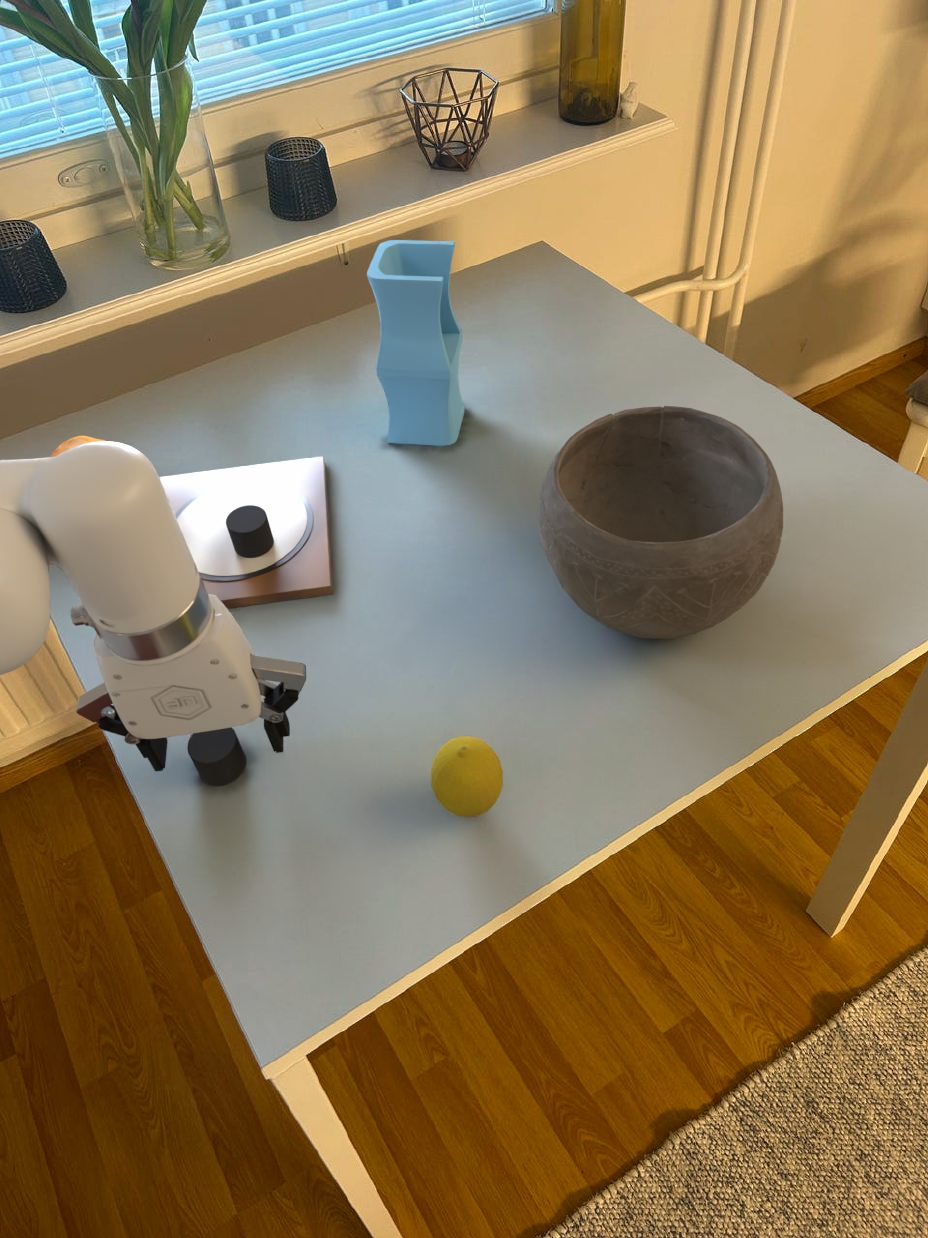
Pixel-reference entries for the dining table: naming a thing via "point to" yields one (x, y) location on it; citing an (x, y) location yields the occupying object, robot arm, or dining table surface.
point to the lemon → (466, 776)
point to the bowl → (661, 520)
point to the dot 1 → (217, 756)
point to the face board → (293, 517)
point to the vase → (418, 341)
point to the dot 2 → (250, 531)
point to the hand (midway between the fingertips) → (220, 747)
